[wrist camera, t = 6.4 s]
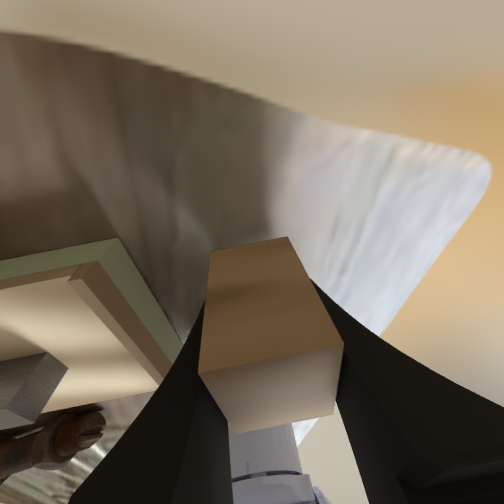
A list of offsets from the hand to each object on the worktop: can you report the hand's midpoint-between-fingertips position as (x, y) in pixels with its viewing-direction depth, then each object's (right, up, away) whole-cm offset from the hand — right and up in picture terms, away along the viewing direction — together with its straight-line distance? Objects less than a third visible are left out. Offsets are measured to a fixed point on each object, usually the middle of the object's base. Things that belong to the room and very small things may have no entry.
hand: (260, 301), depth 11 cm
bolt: (-25, -18, +15) cm, 34 cm away
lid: (-15, -4, +4) cm, 16 cm away
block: (0, +1, +1) cm, 2 cm away
